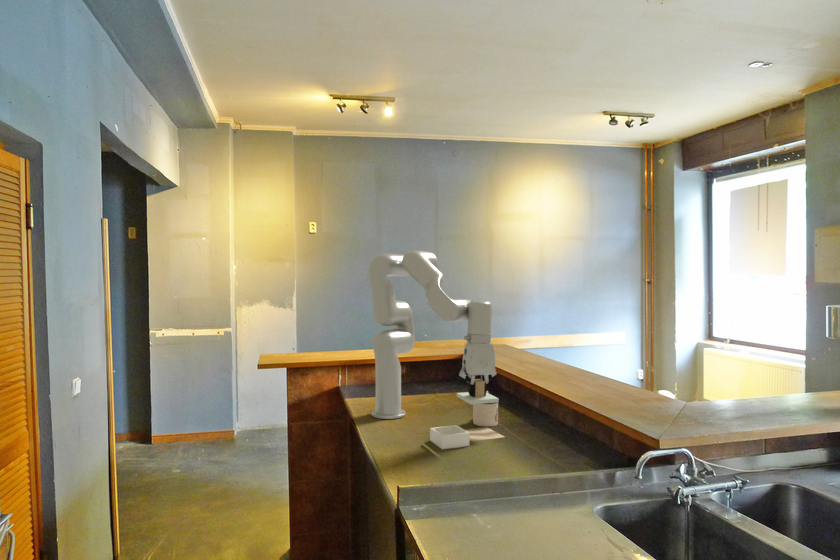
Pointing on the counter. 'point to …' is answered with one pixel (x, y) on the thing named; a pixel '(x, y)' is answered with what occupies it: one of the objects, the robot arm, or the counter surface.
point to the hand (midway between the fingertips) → (477, 394)
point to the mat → (482, 434)
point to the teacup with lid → (485, 414)
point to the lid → (478, 394)
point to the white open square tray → (449, 437)
